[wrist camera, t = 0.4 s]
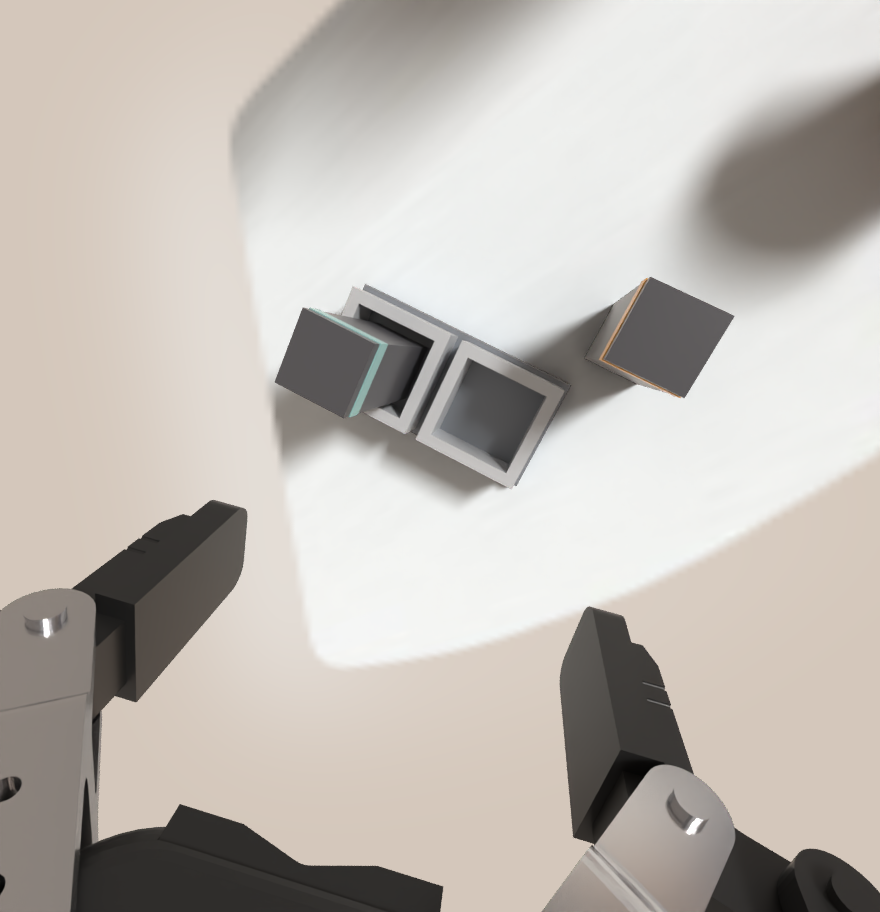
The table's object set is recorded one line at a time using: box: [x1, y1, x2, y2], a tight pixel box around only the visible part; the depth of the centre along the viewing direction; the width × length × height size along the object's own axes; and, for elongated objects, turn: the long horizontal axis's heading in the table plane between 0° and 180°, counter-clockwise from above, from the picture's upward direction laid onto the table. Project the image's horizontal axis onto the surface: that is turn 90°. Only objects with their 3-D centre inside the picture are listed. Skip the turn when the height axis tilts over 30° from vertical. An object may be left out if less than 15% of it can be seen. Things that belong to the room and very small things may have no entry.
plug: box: [584, 277, 734, 398], centre depth 29 cm, size 4×4×12 cm
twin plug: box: [275, 308, 428, 418], centre depth 31 cm, size 4×4×12 cm
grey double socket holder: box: [341, 284, 571, 489], centre depth 35 cm, size 8×16×4 cm, turn 64°
